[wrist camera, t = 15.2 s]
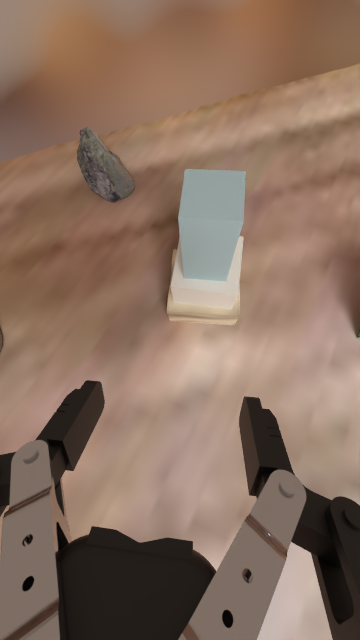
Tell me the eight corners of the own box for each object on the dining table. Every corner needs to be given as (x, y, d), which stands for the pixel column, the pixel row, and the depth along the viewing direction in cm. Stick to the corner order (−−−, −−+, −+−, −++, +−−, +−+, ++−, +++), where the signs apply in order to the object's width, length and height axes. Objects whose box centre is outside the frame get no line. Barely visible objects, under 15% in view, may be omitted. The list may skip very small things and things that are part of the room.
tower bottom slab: (233, 325, 35) (239, 315, 30) (170, 321, 36) (166, 311, 31) (234, 268, 38) (240, 251, 33) (176, 266, 39) (173, 249, 34)
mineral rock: (83, 159, 48) (55, 101, 38) (133, 152, 47) (118, 92, 38) (82, 208, 44) (51, 157, 34) (137, 200, 43) (120, 147, 34)
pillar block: (226, 281, 27) (243, 221, 17) (184, 278, 27) (178, 217, 18) (228, 245, 28) (245, 171, 18) (188, 242, 28) (185, 169, 19)
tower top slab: (231, 309, 31) (238, 294, 26) (173, 302, 32) (170, 286, 27) (236, 258, 33) (243, 236, 28) (182, 253, 34) (180, 230, 29)
